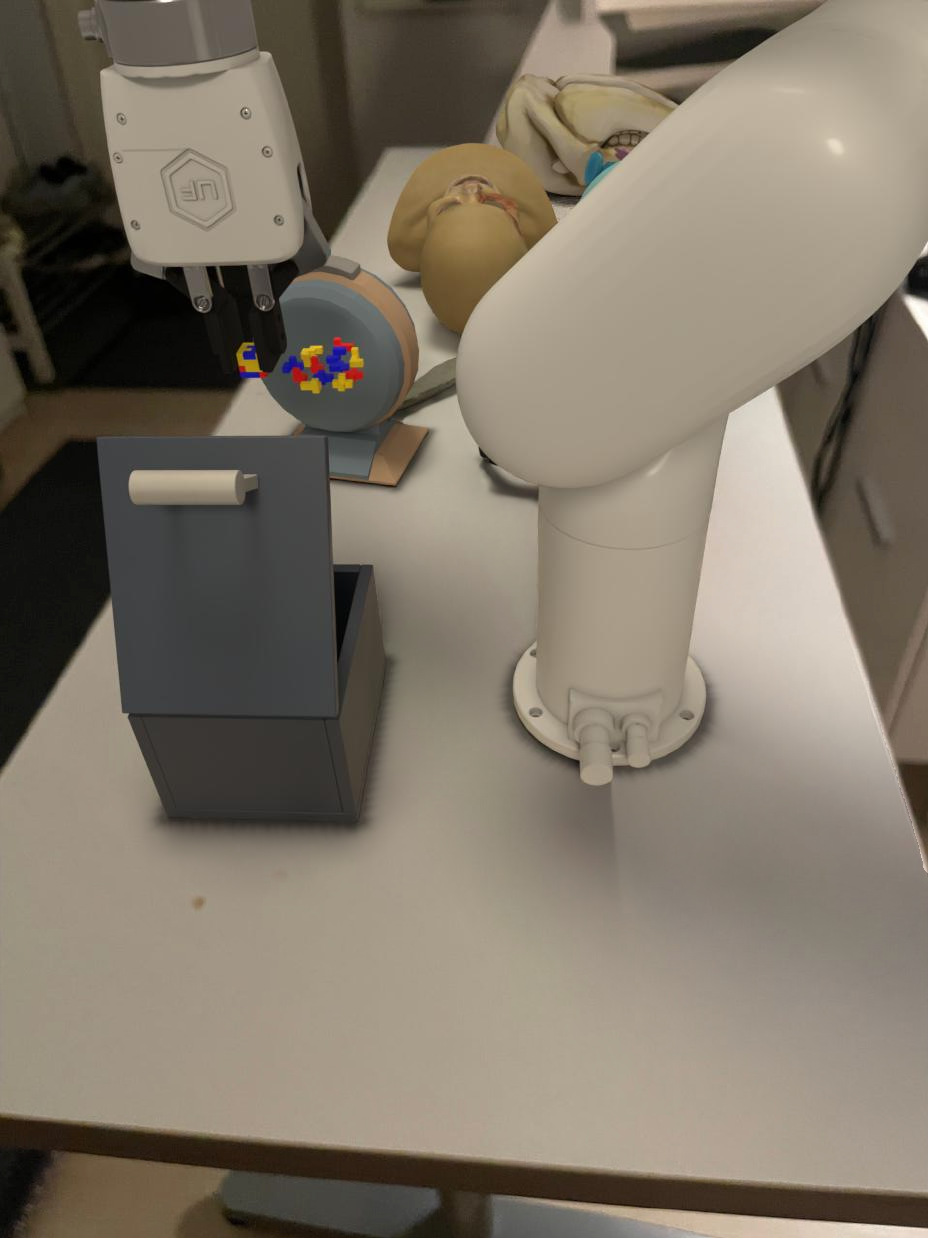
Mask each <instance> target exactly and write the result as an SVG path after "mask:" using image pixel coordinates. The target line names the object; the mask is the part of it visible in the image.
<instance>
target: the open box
mask: <svg viewBox="0 0 928 1238" xmlns="http://www.w3.org/2000/svg"><path fill="white" fill-rule="evenodd" d="M333 572H334V598H335V623H336V649H337V674H338V700H339V713H338V714H337V716H336V717H310V716H253V715H197V714H140V713H128V714H127V720H128V722H129V724H130V727H131V729H132V732H133V735H134V737H135V739H136V742H137V745H138V747H139V749H140V752H141V755H142V756H143V759H144V762H145V765H146V767H147V769H148V772H149V774H150V777H151V779H152V782H153V784H154V787H155V790H156V792H157V795H158V798H159V800H160V802H161V804H162V807H163V809H164V811H165V815H166V817H168V818H193V819H195V818H196V819H227V820H228V819H233V820H266V821H267V820H269V821H307V822H311V821H312V822H345V823H347V822H348V823H350V822H351V823H352V822H353V823H357V822H358V821H359V817H360V812H361V805H362V801H363V795H364V789H365V784H366V779H367V773H368V767H369V762H370V756H371V751H372V745H373V740H374V734H375V728H376V723H377V719H378V718H377V717H378V711H379V706H380V700H381V695H382V690H383V684H384V678H385V673H386V667H387V658H386V651H385V644H384V636H383V628H382V620H381V614H380V607H379V606H380V605H379V598H378V591H377V583H376V575H375V567H374V565H373V564H366V563H365V564H364V563H363V564H361V563H354V564H353V563H348V564H347V563H345V564H344V563H333Z"/></svg>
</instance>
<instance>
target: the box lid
mask: <svg viewBox="0 0 928 1238" xmlns="http://www.w3.org/2000/svg"><path fill="white" fill-rule="evenodd" d="M96 449H97V459H98V470H99V480H100V491H101V501H102V512H103V513H102V514H103V524H104V535H105V545H106V555H107V566H108V577H109V588H110V597H111V608H112V609H111V611H112V619H113V632H114V640H115V651H116V661H117V671H118V673H117V674H118V684H119V694H120V695H119V696H120V703H121V705H120V706H121V713H122V714H129V713H140V714H197V715H253V716H310V717H336V716H337V714H338V713H339V700H338V674H337V649H336V623H335V598H334V572H333V564H334V553H333V552H334V548H333V526H332V525H333V524H332V498H331V478H330V470H329V445H328V436H326V435H303V436H293V435H136V436H135V435H126V436H125V435H124V436H123V435H121V436H120V435H119V436H118V435H116V436H115V435H113V436H109V435H108V436H107V435H105V436H97V437H96Z"/></svg>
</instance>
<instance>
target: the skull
mask: <svg viewBox="0 0 928 1238" xmlns="http://www.w3.org/2000/svg"><path fill="white" fill-rule="evenodd" d="M679 105H680V104H678V103H677V102H674V101H673V100H671V99H670V98H668V97H667V96H665V95H664V94H662V93H661V92H660V91H657V90H655V89H653V88H652V87H649V86H647V85H645V84H643V83H641V82H639V81H637V80H634V79H632V78H630V77H627V76H623V75H621V76H620V75H613V74H604V73H593V72H591V73H588V72H579V73H570V74H566V75H561V76H559V78H557V79H556V80H553V79H551V78H550V77H547V76H536V75H534V74H532V73H524V74H523V75H521V76H519V77H518V78H516V79H515V80H514V82H513V83H512V84H511V86H509V89H508V91H507V94H506V97H505V100H504V107H503V108H502V110H501V111H500V114H499V115H498V118H497V120H496V123H495V136H496V139H497V141H498V143H499V144H500V147H501V148H502V149H505V150H507V151H509V152H511V153H512V154H514V155H516V156H517V157H518V158H520V159H521V160H523V161H524V162H525V163H526V165H527V166H528V167H529V168H530V169H531V171H532V172H533V173H534V175H535V176H536V178H537V179H538V180H539V182H540V183H541V185H542V186H543V188H544V190H545V192H549V193H552V194H558V195H563V196H570V197H571V196H573V197H582V195H583V193H584V192H585V190H586V189H587V187H588V186H589V185H586V183H585V181H584V179H585V169H586V166H587V163H588V161H589V158H590V155H591V154H592V153H595V152H598V153H600V154H601V156H602V158H603V161H604V162H603V165H604V164H605V163H606V162H620V160H619V159H618V158H617V157H616V156H615V153H617V152H616V151H615V150H614V147H617V148H619V149H621V148H622V146H624V147H625V148H626V149H627V150H628V151H630V152H631V151H632V150H633V149H634V148H635V147H636V146H637V145H638V144H639V143H640V142H641V141H642V140H643V139H644V138H645V137H646V136H647V135H648V134H649V133H650V132H651V131H652V130H653V129H654V128H656V127H657V126H658V125H659V124H660V123H661V122H662V121H663V120H664V119H665V118H666V117H667V116H668V115H670V114H671V113H672V112H673V111H674V110H675V109H676V108H677V107H678V106H679ZM621 150H622V149H621Z"/></svg>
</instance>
